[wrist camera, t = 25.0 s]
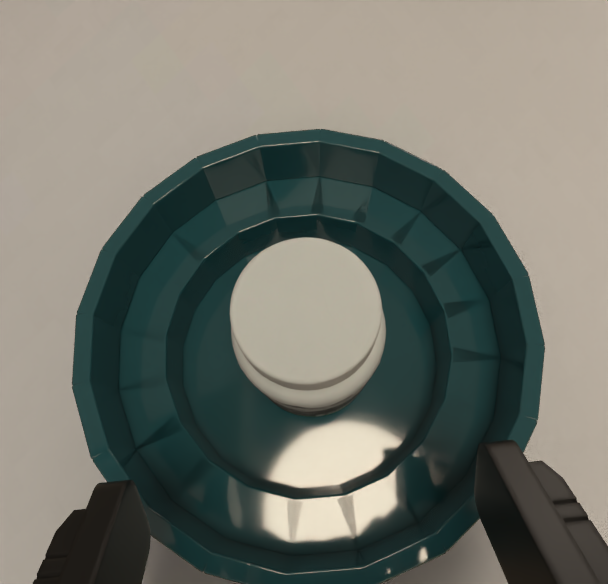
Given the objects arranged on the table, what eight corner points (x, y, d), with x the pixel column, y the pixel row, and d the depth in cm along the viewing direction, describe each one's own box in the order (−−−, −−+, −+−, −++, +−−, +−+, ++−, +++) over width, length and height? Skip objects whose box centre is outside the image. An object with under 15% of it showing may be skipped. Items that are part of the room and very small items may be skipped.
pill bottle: (267, 298, 22) (236, 208, 14) (375, 316, 21) (409, 235, 13) (243, 408, 20) (195, 379, 12) (359, 429, 20) (386, 414, 12)
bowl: (287, 649, 18) (273, 728, 13) (65, 341, 22) (-13, 307, 17) (564, 377, 21) (645, 352, 16) (324, 143, 25) (326, 61, 20)
